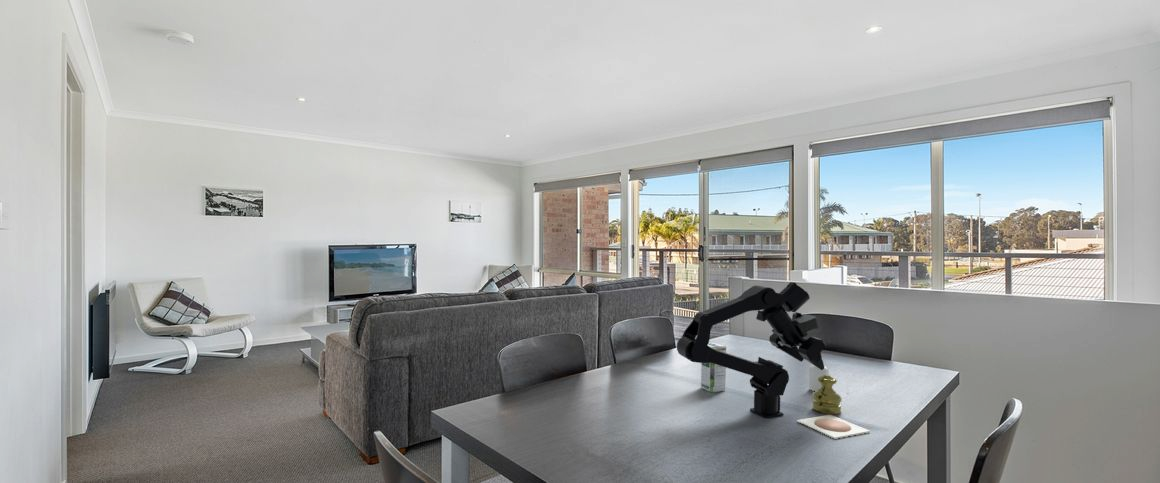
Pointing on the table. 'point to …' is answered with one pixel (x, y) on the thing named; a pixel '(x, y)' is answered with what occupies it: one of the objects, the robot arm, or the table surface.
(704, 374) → the syrup box
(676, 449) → the table surface
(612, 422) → the table surface
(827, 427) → the card
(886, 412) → the table surface
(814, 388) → the eye dropper bottle
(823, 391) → the brass door knob
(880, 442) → the table surface
